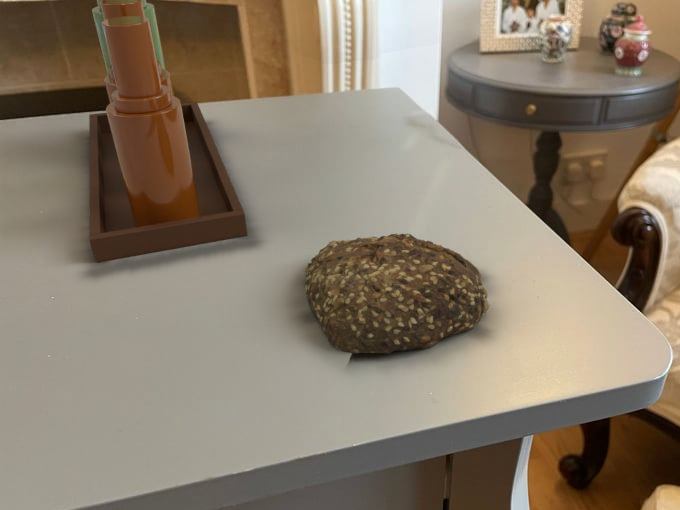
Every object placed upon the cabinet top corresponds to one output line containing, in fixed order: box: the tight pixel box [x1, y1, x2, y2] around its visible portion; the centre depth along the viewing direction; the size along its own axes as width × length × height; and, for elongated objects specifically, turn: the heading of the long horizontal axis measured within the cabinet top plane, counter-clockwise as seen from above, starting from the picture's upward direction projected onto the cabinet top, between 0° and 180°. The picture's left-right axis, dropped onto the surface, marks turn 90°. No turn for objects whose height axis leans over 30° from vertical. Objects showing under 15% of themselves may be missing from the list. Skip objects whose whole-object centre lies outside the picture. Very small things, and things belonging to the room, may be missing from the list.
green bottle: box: [91, 0, 167, 76], centre depth 61 cm, size 5×5×16 cm
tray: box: [88, 101, 248, 264], centre depth 62 cm, size 30×12×3 cm, turn 21°
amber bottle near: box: [102, 16, 201, 228], centre depth 51 cm, size 5×5×16 cm
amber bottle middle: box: [100, 0, 175, 104], centre depth 57 cm, size 5×5×16 cm
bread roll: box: [304, 233, 490, 355], centre depth 45 cm, size 13×12×5 cm
